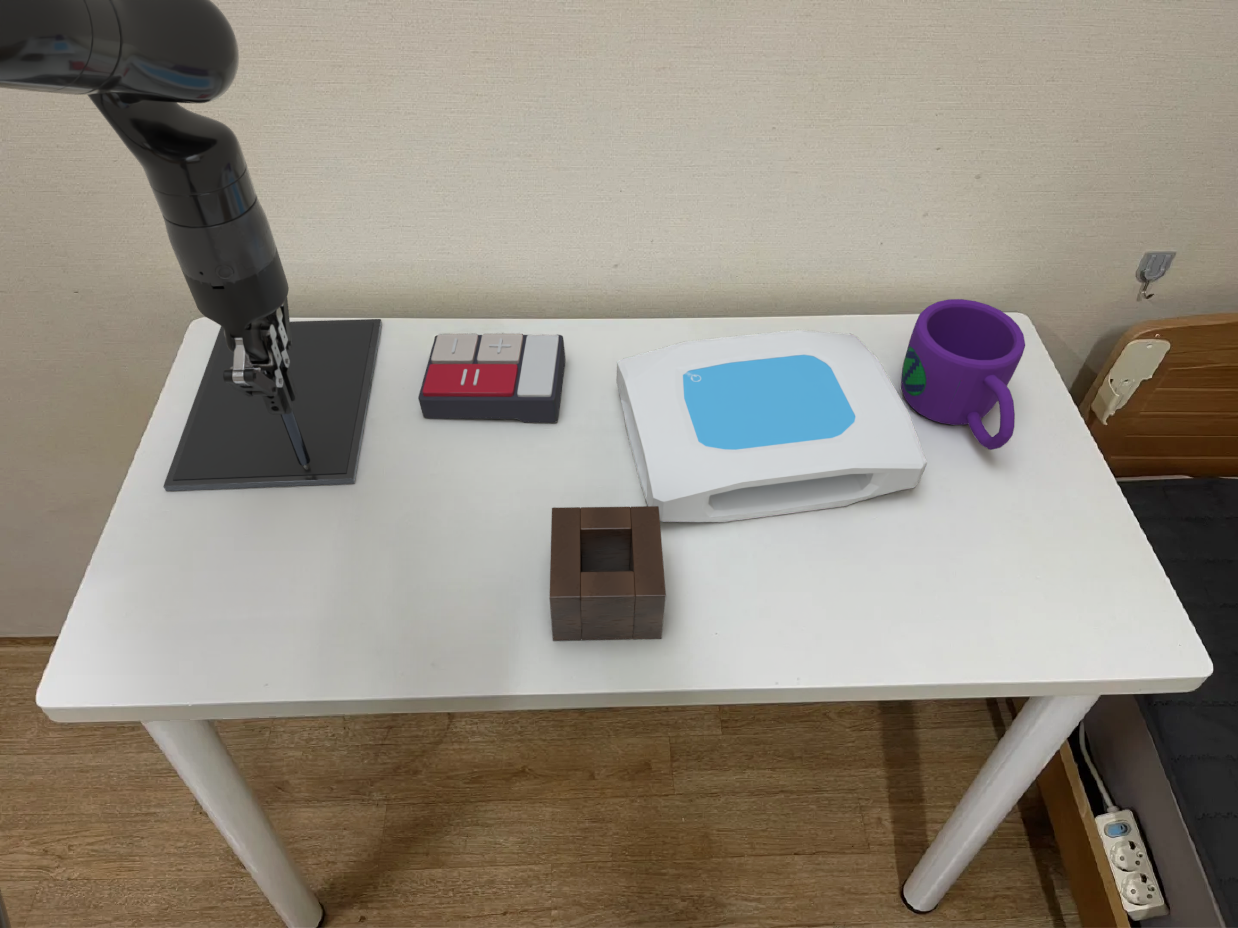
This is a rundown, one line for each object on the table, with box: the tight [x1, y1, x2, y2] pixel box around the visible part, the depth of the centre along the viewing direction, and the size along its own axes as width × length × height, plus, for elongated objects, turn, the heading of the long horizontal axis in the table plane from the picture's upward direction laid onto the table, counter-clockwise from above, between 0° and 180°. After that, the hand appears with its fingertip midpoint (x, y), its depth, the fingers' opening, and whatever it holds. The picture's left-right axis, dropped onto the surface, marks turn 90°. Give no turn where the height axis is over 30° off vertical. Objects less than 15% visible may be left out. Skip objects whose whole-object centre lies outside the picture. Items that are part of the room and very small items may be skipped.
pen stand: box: [549, 505, 667, 642], centre depth 81 cm, size 10×10×7 cm
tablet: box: [163, 318, 383, 492], centre depth 99 cm, size 26×19×1 cm
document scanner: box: [615, 329, 928, 523], centre depth 95 cm, size 21×28×6 cm
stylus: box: [264, 371, 310, 470], centre depth 86 cm, size 1×1×14 cm
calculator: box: [418, 333, 566, 424], centre depth 100 cm, size 11×4×15 cm
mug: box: [900, 298, 1026, 451], centre depth 96 cm, size 17×11×10 cm, turn 11°
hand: (283, 405), depth 85 cm, fingers closed on stylus, 1 cm apart
